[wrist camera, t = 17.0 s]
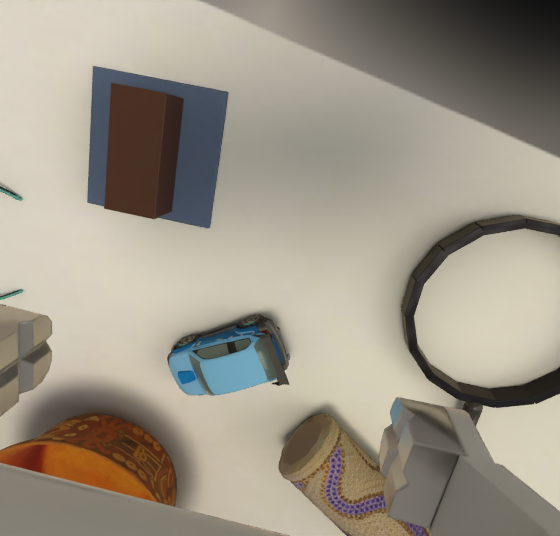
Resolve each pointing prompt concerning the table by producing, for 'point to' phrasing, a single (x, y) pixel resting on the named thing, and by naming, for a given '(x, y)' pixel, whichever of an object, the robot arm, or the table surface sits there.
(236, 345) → the toy car
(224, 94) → the cloth
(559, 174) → the table surface
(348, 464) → the decorative bottle
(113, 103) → the brown rectangular block
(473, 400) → the pan
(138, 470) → the bowl
